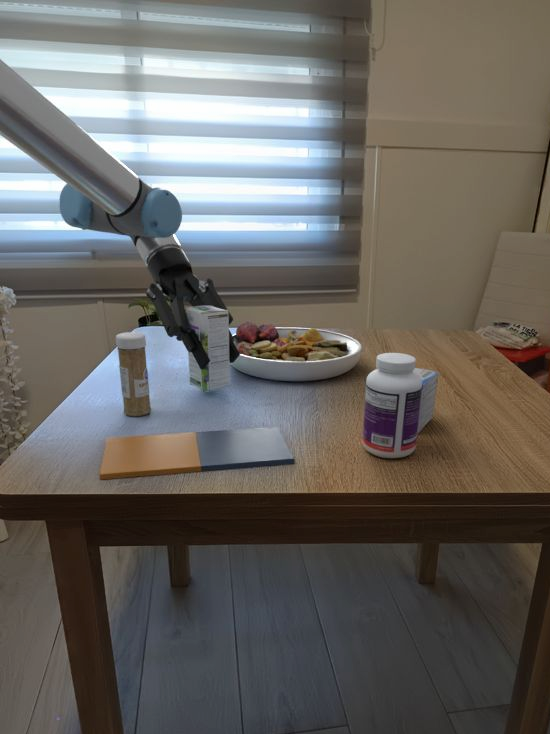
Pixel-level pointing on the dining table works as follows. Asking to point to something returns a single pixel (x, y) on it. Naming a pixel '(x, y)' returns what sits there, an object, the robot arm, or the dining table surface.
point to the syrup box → (210, 347)
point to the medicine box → (426, 396)
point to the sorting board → (193, 452)
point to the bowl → (293, 352)
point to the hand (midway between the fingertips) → (220, 361)
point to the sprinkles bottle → (133, 373)
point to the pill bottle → (392, 406)
